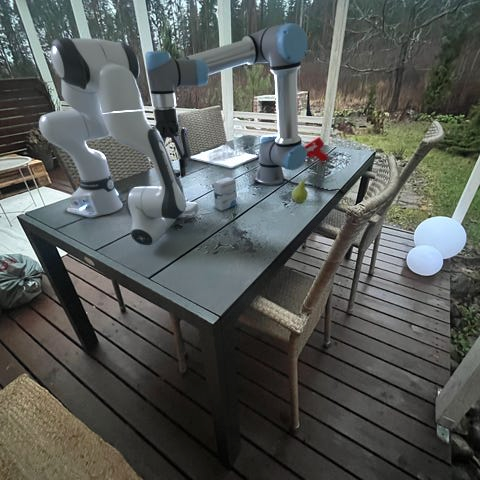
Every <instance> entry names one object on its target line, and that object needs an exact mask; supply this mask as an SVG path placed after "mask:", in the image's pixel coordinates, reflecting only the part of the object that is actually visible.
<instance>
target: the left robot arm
mask: <svg viewBox="0 0 480 480" xmlns="http://www.w3.org/2000/svg"><path fill="white" fill-rule="evenodd" d="M50 59H51V63H52V66H53V68H54V70H55V72H56V75H57V76H58V77H59V78H60V79H61V80H60V81H61V82H60V83H61V96H62V98H63V101H64V102H65V103H66V104H67V105H68V106H69V107H70V108H71V109H65V110H64V109H63V110H55V111H52V112H48V113H46V114H42V115H41V116H40V118H39V119H38V120H39V121H38V128H39V131H40V134H41V135H42V137H43V138H44V139H45V140H46V141H47V142H48V143H50V144H52V145H54V146H56V147H59V148H60V149H62V150H63V151H65V152H66V153H67V154H68V156H69V157H70V158H71V160H72V161H73V163H74V166H75V168H76V170H77V172H78V175H79V178H78V179H76V180H75V183H76V184H79V185H78V188H77V189H76V190H75V191H74V192H73V193H72V194H71V195H70V199H69V201H70V205H69V206H68V207H67V208H66V212H67V213H70V214H73V215H78V216H82V217H86V218H90V219H94V218H97V217H100V216H104V215H109V214H112V213H116V212H118V211H119V210H121V209H122V208H123V206H124V203H123V202H122V200H121V199H120V197H119V192H118V191H117V189H116V188H115V181H114V178H113V174H111V172H110V168H109V164H108V161H107V158H106V156H105V155H104V153H102V152H101V151H99V150H95V149H93V148H89V147H88V145H87V142H89V141H95V140H100V139H104V138H107V137H111V138H112V139H113V140H114V141H115V142H117V143H119V144H120V145H122V146H124V147H127V148H130V149H133V150H136V151H138V152H140V153H142V154H144V155H145V157H147V158H148V159H149V160H150V162H151V164H152V167H153V169H154V171H155V175H156V177H157V180H158V182H159V186H134V187H132V188H131V189H130V190H129V191H128V192H127V195H126V198H125V208H126V212H127V213H128V215H129V217H130V218H131V228H130V236H131V238H132V239H133V240H134V242H135V243H137V244H139V245H142V246H151V245H153V244H156V243H157V242H158V241H159V240H160V239H161V238H162V237H163V236H164V235H165V233H166V232H167V230H169V229H170V228H171V227H172V226H173V224H174V223H175V222H176V220H177V219H184V220H189V219H191V218H194V216H195V215H196V214H197V213H198V212H199V205H198V203H197V202H195V201H194V202H193V201H189V198H186V195H185V193H184V190H183V191H182V189H181V188H180V186H179V183H178V181H177V178H176V175H175V172H174V170H175V169H174V166H173V164H172V161H171V158H170V154H169V152H168V150H167V147H166V143H165V144H164V142H163V139H162V137H161V135H160V133H159V131H158V130H157V131H155V130H154V129H153V128H152V127H151V126H152V125H151V123H150V122H149V120H148V118H147V115H146V111H145V107H144V102H143V99H142V96H141V92H140V89H139V86H138V84H137V81H138V78H139V75H140V62H139V59H138V56H137V54H136V52H135V50H134V48H133V47H131V46H130V45H129V44H126V43H124V42H121V41H112V40H107V39H103V38H102V39H101V38H85V37H84V38H79V37H77V38H70V37H68V36H67V37H66V36H65V37H60V38H56V39H53V41H52V42H51V45H50Z"/></svg>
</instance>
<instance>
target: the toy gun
mask: <svg viewBox="0 0 480 480" xmlns="http://www.w3.org/2000/svg"><path fill="white" fill-rule="evenodd" d="M324 145H325V143H324V141H323V140H322V138H321V137H320V136H317V137H316V138H314V139H313V140H311V141H310V142H308V143H306V144H305V145H303V146H304V147H305V148H306V150H307V156H306V158H309V160H310V159H314V158H317V159H318V160H319V161H321V162H320V163H321V164H324V162H322V161H325V160H326V162H328V158H329V155H328V154H327V153H325V152H324V151H323V150H322V148H323V147H324Z"/></svg>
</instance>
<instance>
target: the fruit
mask: <svg viewBox="0 0 480 480" xmlns="http://www.w3.org/2000/svg"><path fill="white" fill-rule="evenodd" d="M310 177H311V175H310V174H309V175H308V176H307V177H305V179H302V180H301V181H300V182H298V183H299V184H298V185H296V186H295V187H294V188H293V190H292V191H291V198H292V200H293V201H294V202H295V203H297V204H301V203H304V202H305V201H306V200H307V198H308V196H309V195H308V190H307V189H306V186H305V184H306V180H308V179H309V178H310Z"/></svg>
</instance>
